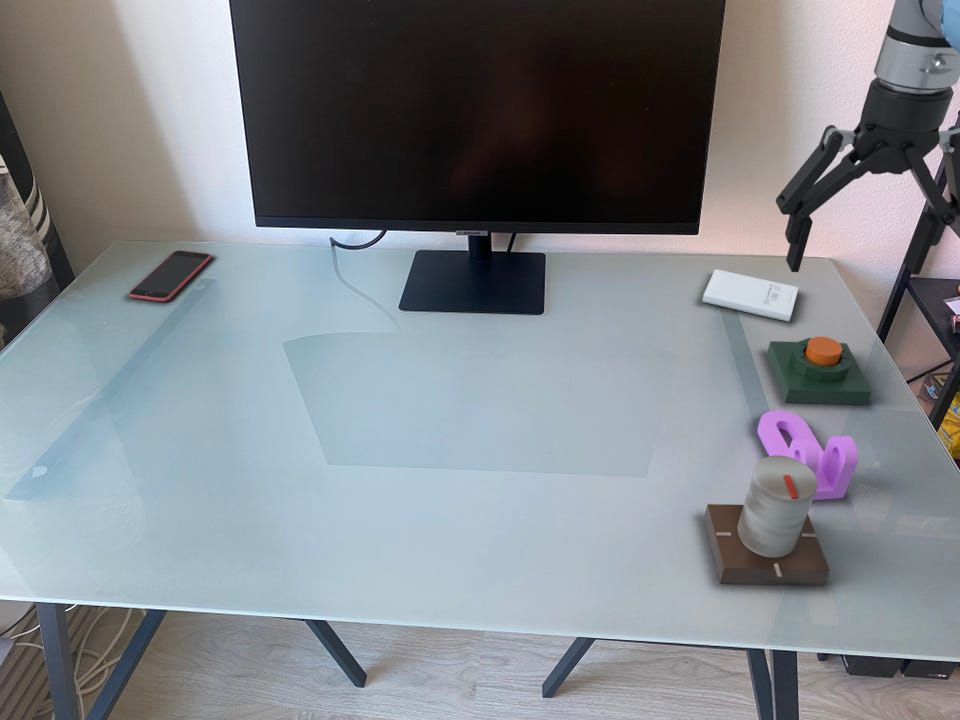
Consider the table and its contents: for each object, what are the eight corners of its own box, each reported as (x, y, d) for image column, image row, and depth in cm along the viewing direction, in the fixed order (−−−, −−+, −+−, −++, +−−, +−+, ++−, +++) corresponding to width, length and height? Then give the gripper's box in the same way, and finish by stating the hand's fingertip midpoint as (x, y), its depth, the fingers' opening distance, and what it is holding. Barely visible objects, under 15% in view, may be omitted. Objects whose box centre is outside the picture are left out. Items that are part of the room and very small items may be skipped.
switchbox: (866, 405, 94) (876, 380, 92) (784, 402, 95) (792, 378, 92) (842, 355, 102) (850, 331, 99) (766, 353, 102) (773, 330, 100)
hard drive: (713, 276, 118) (797, 294, 114) (701, 303, 112) (788, 323, 108) (715, 267, 117) (799, 285, 113) (703, 294, 111) (791, 313, 107)
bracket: (842, 498, 82) (861, 453, 78) (793, 501, 82) (809, 456, 78) (795, 417, 92) (809, 373, 88) (750, 420, 92) (762, 376, 88)
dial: (731, 512, 78) (748, 452, 72) (786, 513, 78) (807, 453, 72) (744, 557, 73) (764, 497, 68) (803, 558, 73) (827, 497, 68)
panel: (796, 514, 81) (802, 497, 79) (826, 593, 73) (833, 576, 71) (701, 513, 81) (705, 496, 79) (721, 591, 73) (726, 575, 72)
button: (842, 366, 94) (846, 355, 93) (810, 365, 95) (813, 354, 93) (833, 347, 97) (837, 336, 96) (801, 346, 98) (804, 335, 97)
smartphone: (125, 294, 116) (175, 249, 126) (126, 297, 116) (176, 252, 127) (166, 299, 114) (213, 253, 125) (167, 303, 115) (213, 256, 125)
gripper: (794, 94, 72) (749, 282, 86) (1065, 95, 71) (976, 286, 84) (775, 69, 78) (736, 248, 91) (1025, 70, 77) (948, 252, 90)
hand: (851, 267), depth 88 cm, fingers open, 13 cm apart
